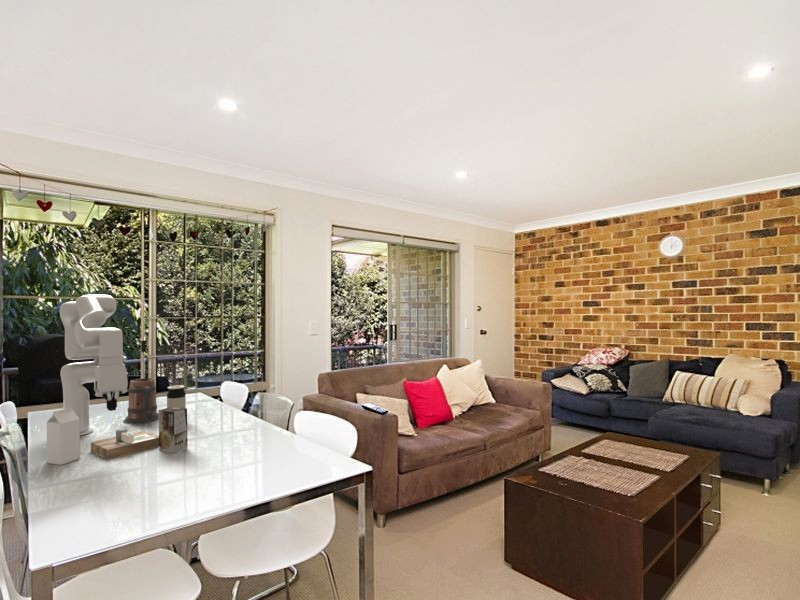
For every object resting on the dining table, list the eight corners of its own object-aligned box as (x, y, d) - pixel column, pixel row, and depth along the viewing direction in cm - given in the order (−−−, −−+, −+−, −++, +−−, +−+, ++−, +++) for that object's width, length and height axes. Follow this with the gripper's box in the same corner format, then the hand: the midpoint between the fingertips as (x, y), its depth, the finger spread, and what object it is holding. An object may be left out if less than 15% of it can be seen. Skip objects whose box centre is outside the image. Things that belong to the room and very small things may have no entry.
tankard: (119, 419, 230) (119, 379, 230) (156, 413, 241) (156, 375, 241) (129, 428, 213) (129, 385, 213) (169, 422, 224) (168, 381, 224)
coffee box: (188, 448, 182) (188, 408, 182) (174, 453, 177) (174, 411, 177) (172, 445, 186) (172, 406, 186) (158, 450, 180) (157, 409, 180)
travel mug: (169, 427, 214) (169, 388, 214) (165, 424, 220) (164, 386, 220) (187, 424, 219) (187, 386, 219) (182, 421, 225) (182, 384, 225)
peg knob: (114, 440, 182) (114, 430, 182) (125, 437, 185) (124, 428, 185) (125, 445, 175) (125, 434, 175) (136, 442, 179) (136, 432, 179)
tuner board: (91, 451, 181) (90, 441, 181) (144, 438, 196) (144, 430, 197) (107, 459, 171) (107, 449, 171) (162, 445, 187) (162, 436, 187)
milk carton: (80, 459, 172) (79, 408, 172) (60, 465, 165) (60, 412, 165) (66, 457, 174) (66, 406, 174) (46, 463, 167) (46, 411, 167)
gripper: (128, 358, 182) (128, 405, 181) (84, 363, 170) (85, 412, 170) (136, 359, 177) (137, 407, 177) (92, 364, 165) (93, 415, 165)
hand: (111, 410), depth 173 cm, fingers closed
